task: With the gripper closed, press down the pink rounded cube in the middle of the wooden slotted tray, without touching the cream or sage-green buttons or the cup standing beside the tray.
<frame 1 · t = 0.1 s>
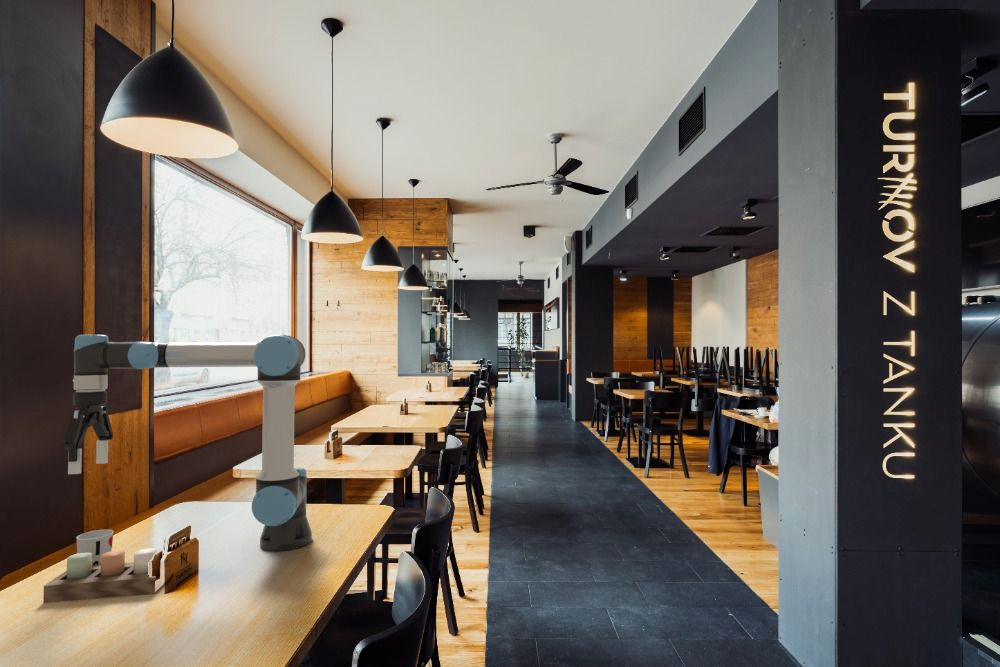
hand: (88, 468, 149), 28 cm above the table, fingers open, 13 cm apart
pink rounded cube: (112, 563, 139), point 6 cm above the table, slide at 0.0 cm
wooden slotted tray: (112, 587, 138), on the table
cup: (94, 572, 149), on the table
button sage: (79, 566, 137), point 6 cm above the table, slide at 0.0 cm
button cream: (145, 561, 140), point 6 cm above the table, slide at 0.0 cm
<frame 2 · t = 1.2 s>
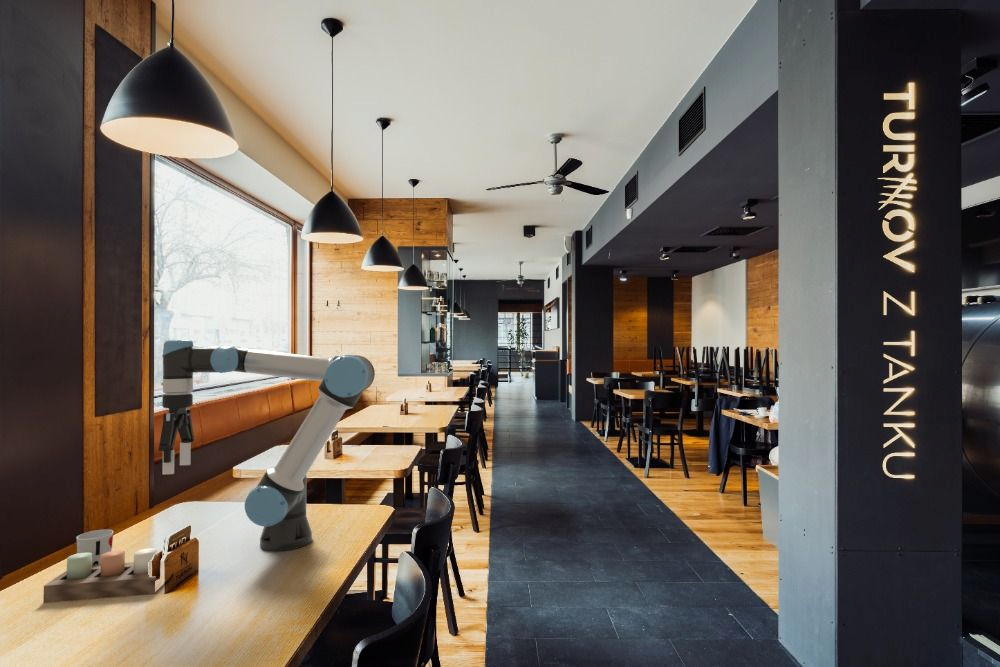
hand: (177, 469, 157), 26 cm above the table, fingers open, 12 cm apart
nothing on the table moved.
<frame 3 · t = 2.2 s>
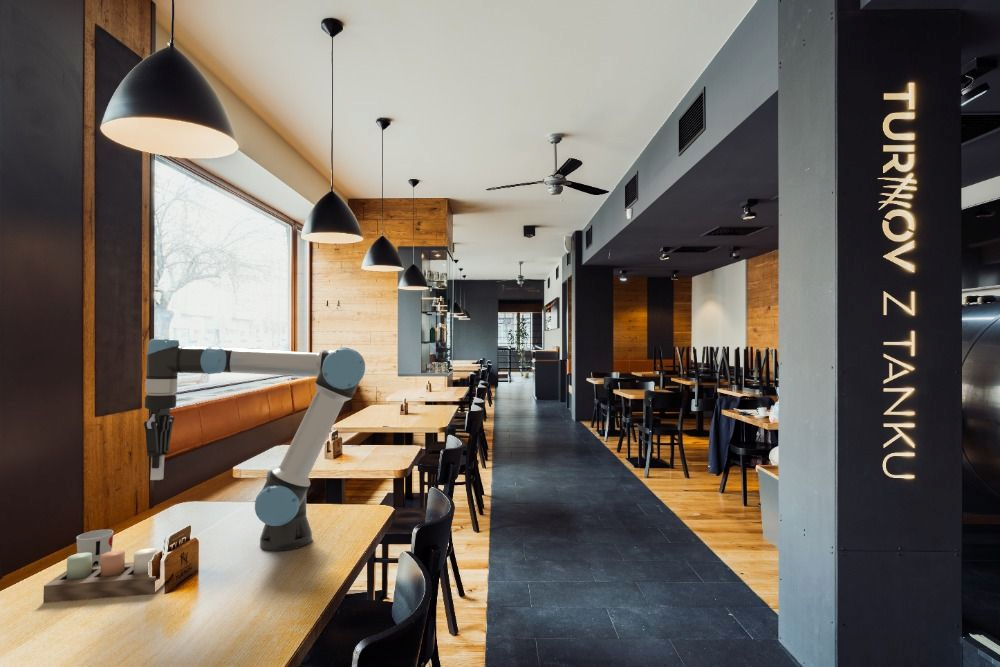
hand: (156, 479, 151), 24 cm above the table, fingers closed
nothing on the table moved.
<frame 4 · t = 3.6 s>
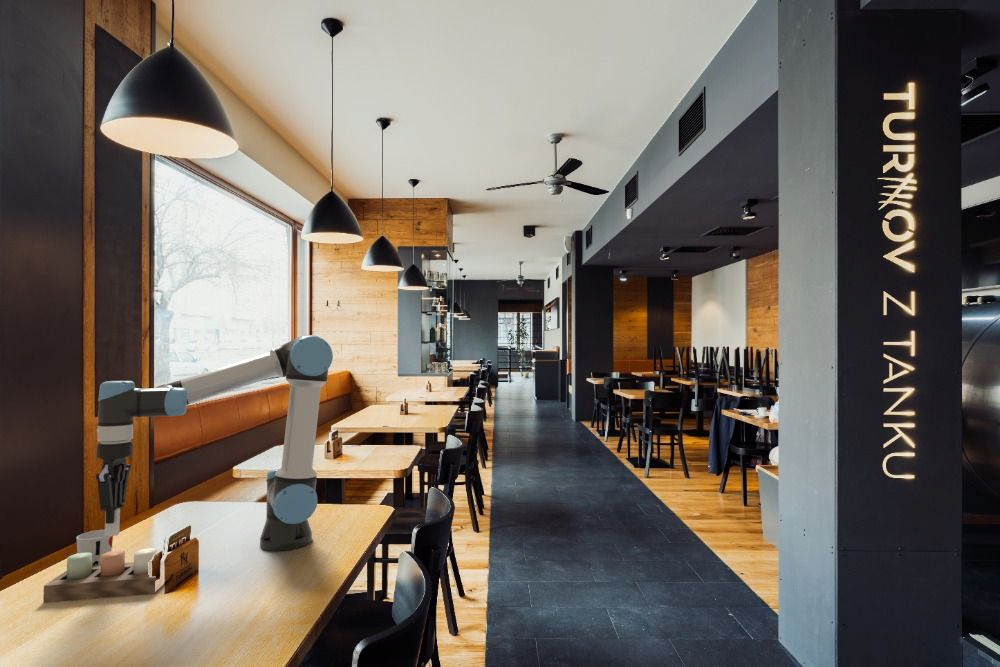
hand: (111, 534, 139), 13 cm above the table, fingers closed
nothing on the table moved.
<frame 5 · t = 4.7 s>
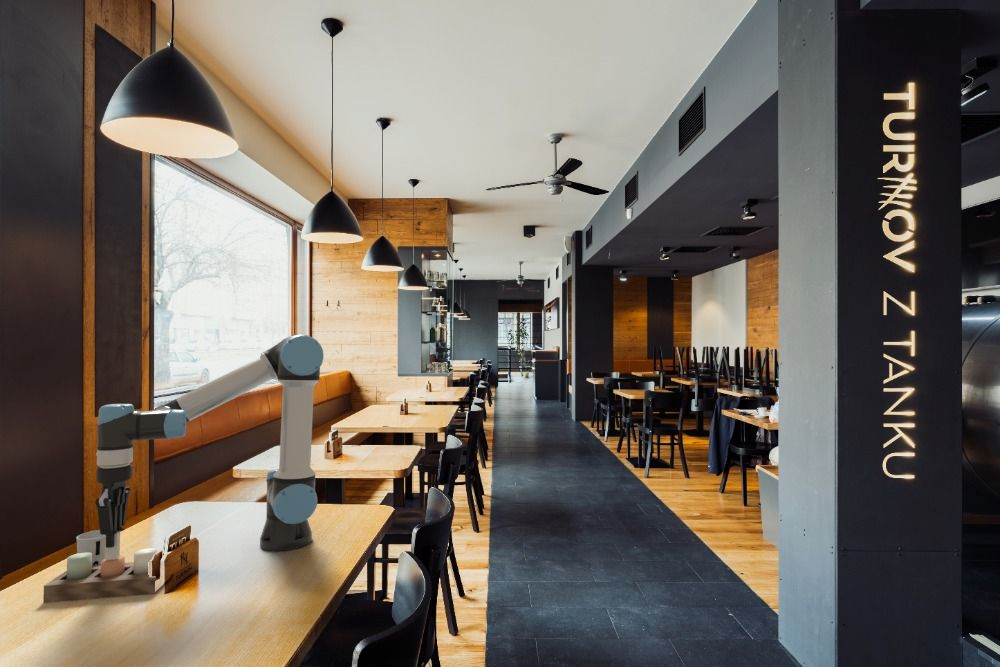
hand: (112, 558, 139), 7 cm above the table, fingers closed
pink rounded cube: (112, 569, 138), point 5 cm above the table, slide at 1.4 cm, touching gripper
everything else where it was.
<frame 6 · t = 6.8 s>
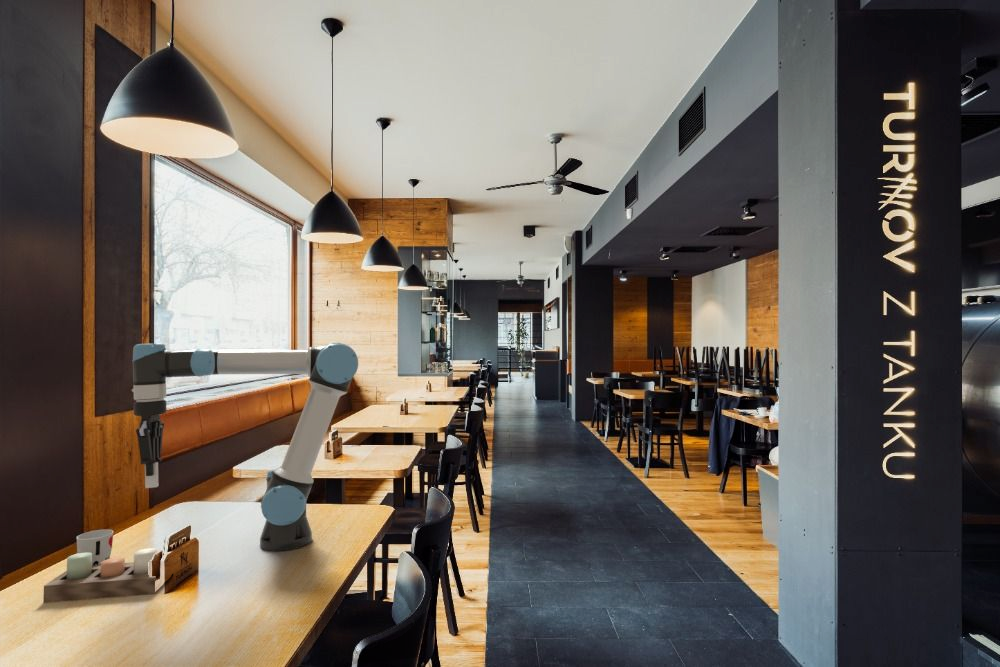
hand: (151, 486, 148), 23 cm above the table, fingers closed
pink rounded cube: (112, 571, 138), point 4 cm above the table, slide at 1.8 cm
everything else where it was.
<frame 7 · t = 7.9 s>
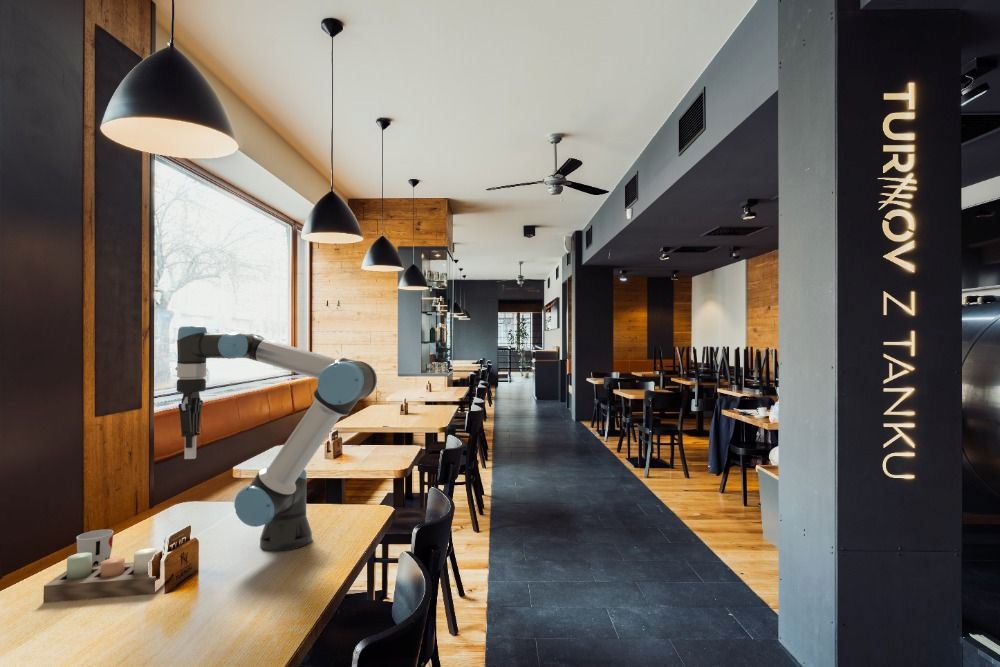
hand: (190, 458, 161), 28 cm above the table, fingers closed
nothing on the table moved.
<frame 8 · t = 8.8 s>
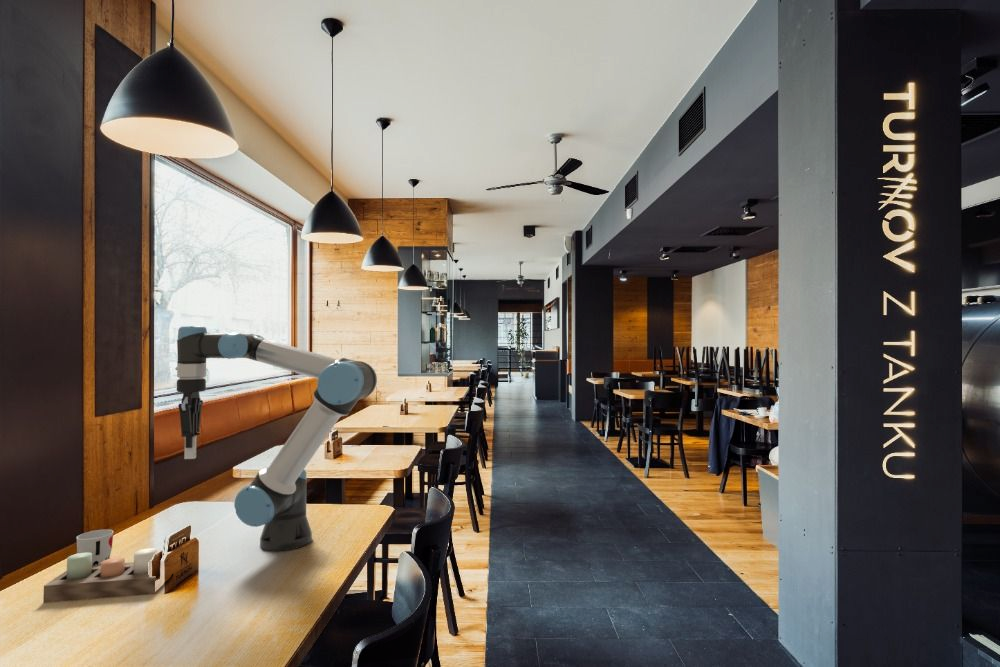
hand: (190, 458, 161), 28 cm above the table, fingers closed
nothing on the table moved.
at the end: pink rounded cube slide at 1.8 cm; button cream slide at 0.0 cm; button sage slide at 0.0 cm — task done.
